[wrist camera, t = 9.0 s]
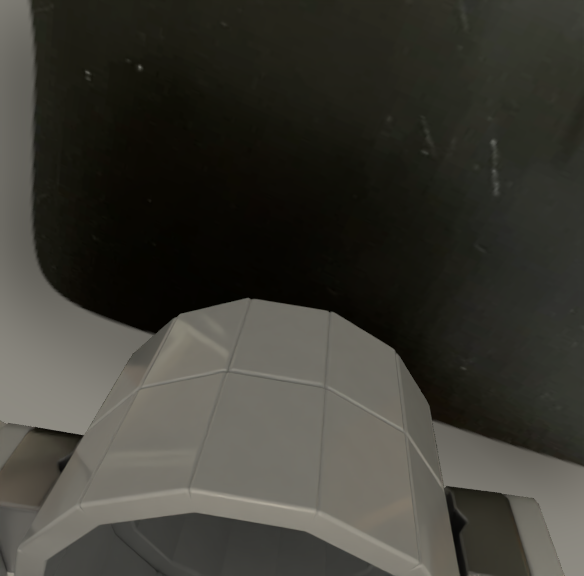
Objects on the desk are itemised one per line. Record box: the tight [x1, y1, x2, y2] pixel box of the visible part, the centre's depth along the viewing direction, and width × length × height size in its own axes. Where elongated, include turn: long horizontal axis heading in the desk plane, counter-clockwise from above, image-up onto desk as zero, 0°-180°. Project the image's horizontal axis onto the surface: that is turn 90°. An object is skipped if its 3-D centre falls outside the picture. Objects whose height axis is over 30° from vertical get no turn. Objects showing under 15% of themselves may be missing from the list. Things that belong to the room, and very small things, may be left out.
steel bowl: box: [14, 298, 460, 576], centre depth 9 cm, size 6×6×4 cm
